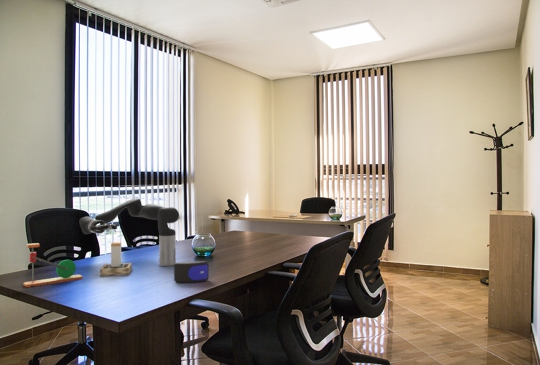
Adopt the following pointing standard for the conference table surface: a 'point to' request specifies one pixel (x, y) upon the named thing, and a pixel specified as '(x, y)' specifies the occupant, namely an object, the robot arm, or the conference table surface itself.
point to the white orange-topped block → (115, 254)
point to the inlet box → (116, 269)
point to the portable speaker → (191, 272)
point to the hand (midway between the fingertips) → (108, 228)
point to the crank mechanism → (63, 270)
